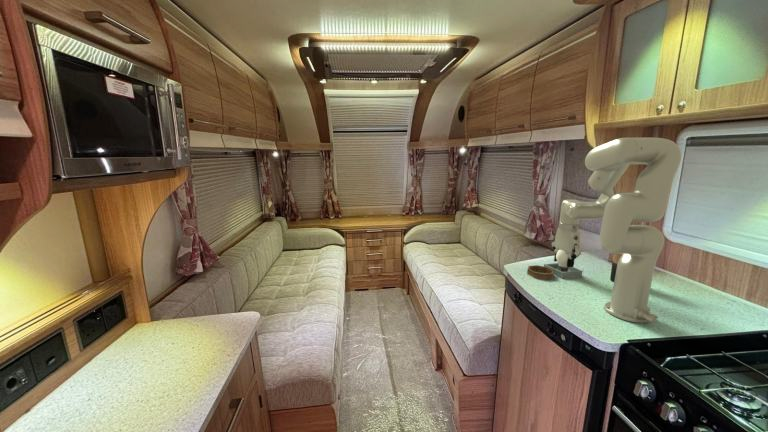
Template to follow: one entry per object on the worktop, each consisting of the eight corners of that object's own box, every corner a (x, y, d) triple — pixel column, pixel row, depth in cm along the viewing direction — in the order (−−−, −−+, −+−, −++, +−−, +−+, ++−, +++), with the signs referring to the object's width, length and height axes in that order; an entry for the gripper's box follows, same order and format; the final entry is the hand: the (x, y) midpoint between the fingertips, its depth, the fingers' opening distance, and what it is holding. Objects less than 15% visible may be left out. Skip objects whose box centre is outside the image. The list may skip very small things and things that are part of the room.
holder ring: (558, 278, 133) (559, 273, 132) (538, 280, 130) (539, 274, 130) (541, 269, 143) (542, 264, 142) (522, 271, 140) (523, 266, 140)
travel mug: (636, 285, 125) (644, 240, 121) (617, 285, 126) (625, 240, 121) (622, 278, 133) (629, 235, 129) (605, 278, 133) (612, 235, 129)
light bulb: (574, 271, 137) (577, 248, 135) (565, 273, 134) (568, 250, 132) (560, 266, 143) (563, 244, 141) (551, 268, 140) (553, 246, 138)
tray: (581, 276, 135) (582, 270, 134) (561, 278, 133) (562, 272, 132) (562, 267, 145) (563, 262, 145) (543, 269, 143) (544, 264, 143)
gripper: (592, 231, 127) (586, 270, 130) (560, 222, 144) (556, 257, 147) (577, 231, 125) (572, 271, 129) (547, 223, 142) (543, 258, 145)
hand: (563, 263), depth 138 cm, fingers open, 6 cm apart
